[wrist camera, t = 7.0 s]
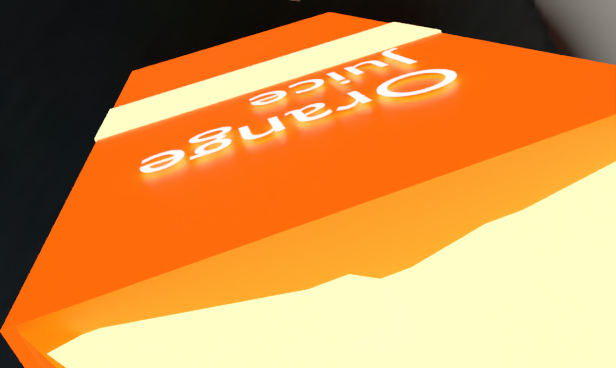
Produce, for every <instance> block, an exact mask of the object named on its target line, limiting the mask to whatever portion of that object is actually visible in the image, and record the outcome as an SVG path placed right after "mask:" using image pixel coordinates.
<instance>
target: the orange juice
mask: <svg viewBox="0 0 616 368" xmlns="http://www.w3.org/2000/svg"><path fill="white" fill-rule="evenodd" d="M95 141H96V144H95V145H94V147H93V149H92V151H91V153H90V155H89V157H88V159H87V161H86V163H85V165H84V167H83V169H82V171H81V173H80V175H79V177H78V179H77V181H76V183H75V185H74V187H73V189H72V191H71V193H70V195H69V197H68V199H67V201H66V203H65V205H64V207H63V208H62V210H61V212H60V214H59V216H58V218H57V220H56V222H55V224H54V226H53V228H52V230H51V232H50V234H49V236H48V238H47V240H46V242H45V244H44V246H43V248H42V250H41V252H40V254H39V256H38V258H37V260H36V262H35V264H34V266H33V268H32V269H31V271H30V273H29V275H28V277H27V279H26V281H25V283H24V285H23V287H22V289H21V291H20V293H19V295H18V297H17V299H16V301H15V303H14V305H13V307H12V309H11V311H10V313H9V315H8V317H7V319H6V321H5V323H4V325H3V327H2V329H1V331H0V332H1V333H2V335H3V336H4V338H5V339H6V341H7V342H8V344H9V345H10V347H11V348H12V350H13V351H14V353H15V354H16V355H17V357H18V358H19V360H20V361H21V363H22V364H23V366H24V367H25V368H616V65H611V64H606V63H600V62H595V61H590V60H585V59H579V58H574V57H568V56H563V55H558V54H552V53H547V52H541V51H536V50H531V49H525V48H520V47H514V46H509V45H504V44H498V43H493V42H488V41H482V40H477V39H471V38H466V37H461V36H455V35H450V34H444V33H441V30H437V29H431V28H426V27H420V26H414V25H409V24H403V23H397V22H392V23H385V22H380V21H374V20H369V19H364V18H358V17H353V16H347V15H342V14H337V13H331V12H329V13H325V14H322V15H319V16H315V17H312V18H309V19H305V20H302V21H299V22H295V23H292V24H289V25H285V26H282V27H279V28H275V29H272V30H269V31H265V32H262V33H259V34H255V35H252V36H249V37H245V38H242V39H239V40H235V41H232V42H229V43H225V44H222V45H219V46H215V47H212V48H209V49H205V50H202V51H199V52H195V53H192V54H189V55H185V56H182V57H179V58H175V59H172V60H169V61H165V62H162V63H159V64H155V65H152V66H149V67H145V68H142V69H139V70H135V71H132V73H131V75H130V77H129V79H128V81H127V83H126V84H125V86H124V88H123V90H122V92H121V94H120V96H119V98H118V100H117V102H116V104H115V106H114V108H113V109H110V110H109V112H108V114H107V116H106V118H105V120H104V122H103V124H102V126H101V127H100V129H99V131H98V133H97V135H96V137H95Z"/></svg>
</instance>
